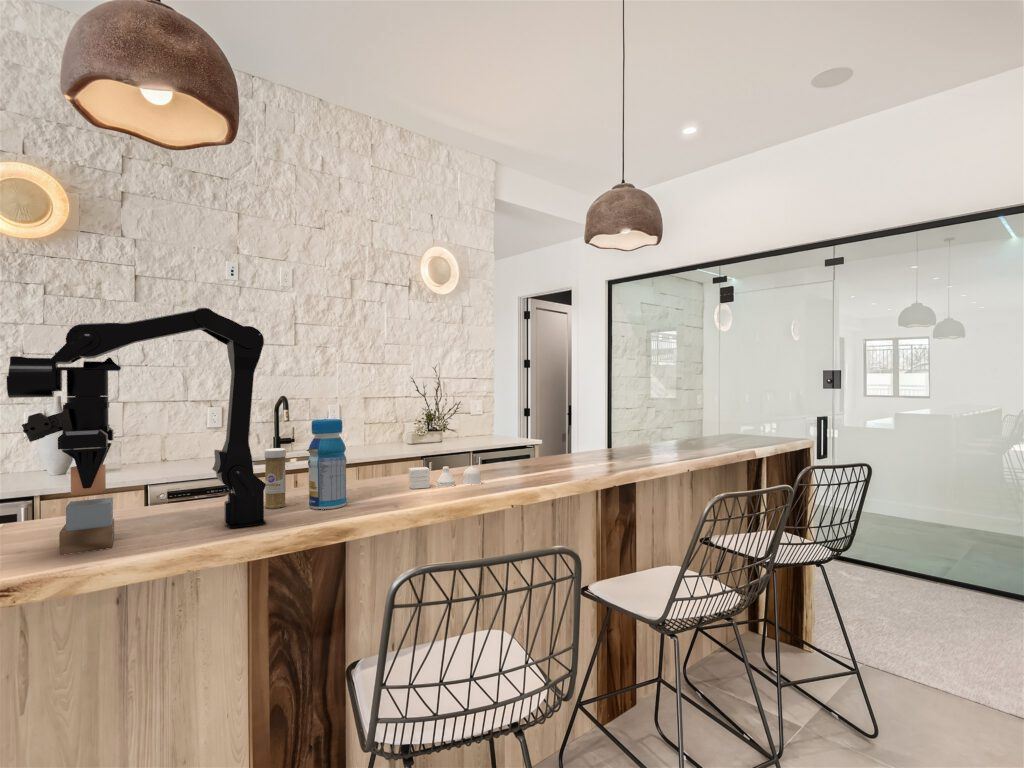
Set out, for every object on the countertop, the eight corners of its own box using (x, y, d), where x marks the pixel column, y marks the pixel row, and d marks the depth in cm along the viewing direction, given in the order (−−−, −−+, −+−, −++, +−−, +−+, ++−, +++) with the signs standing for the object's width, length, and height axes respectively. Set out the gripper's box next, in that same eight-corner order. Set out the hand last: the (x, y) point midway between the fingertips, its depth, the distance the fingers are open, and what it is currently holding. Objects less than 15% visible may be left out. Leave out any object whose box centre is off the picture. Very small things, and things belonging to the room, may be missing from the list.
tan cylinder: (106, 488, 98) (106, 463, 98) (104, 492, 94) (104, 466, 94) (72, 491, 95) (72, 465, 95) (68, 495, 91) (68, 469, 91)
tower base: (114, 540, 99) (114, 518, 99) (112, 549, 93) (111, 526, 94) (65, 547, 95) (65, 524, 95) (59, 557, 90) (59, 532, 90)
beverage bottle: (335, 511, 120) (334, 420, 121) (300, 509, 122) (299, 420, 122) (353, 503, 129) (352, 418, 129) (321, 502, 130) (320, 418, 131)
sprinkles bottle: (262, 509, 123) (262, 450, 123) (267, 505, 127) (267, 448, 128) (284, 508, 124) (283, 449, 124) (288, 504, 128) (287, 447, 128)
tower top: (112, 519, 99) (112, 497, 99) (110, 526, 94) (110, 502, 94) (70, 524, 95) (70, 501, 95) (65, 531, 90) (65, 507, 90)
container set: (411, 490, 146) (411, 470, 146) (408, 487, 150) (408, 467, 151) (483, 485, 152) (483, 465, 152) (478, 482, 157) (478, 463, 157)
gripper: (37, 397, 98) (37, 483, 98) (14, 397, 83) (15, 500, 82) (113, 396, 104) (113, 477, 104) (105, 396, 89) (106, 492, 89)
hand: (88, 486), depth 95 cm, fingers closed on tan cylinder, 5 cm apart
